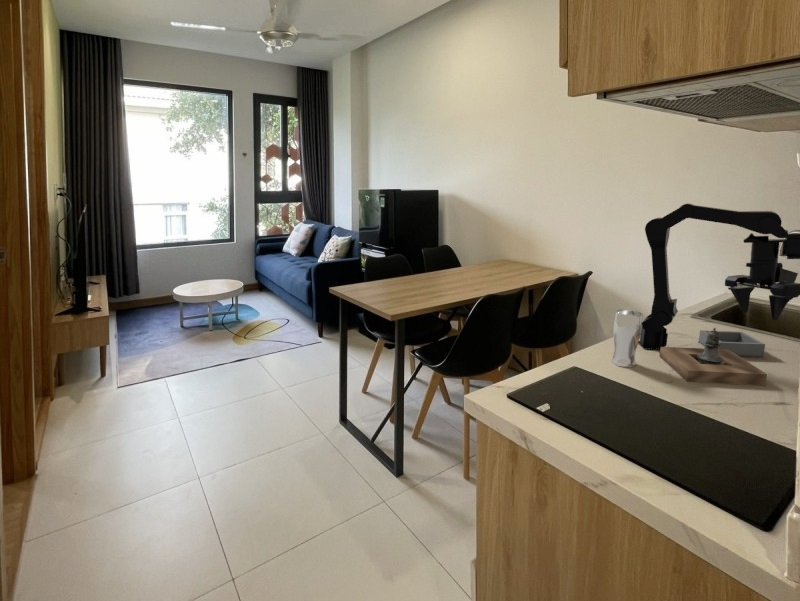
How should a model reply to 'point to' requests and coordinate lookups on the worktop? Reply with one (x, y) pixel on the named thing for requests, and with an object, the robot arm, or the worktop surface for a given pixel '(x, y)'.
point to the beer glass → (626, 336)
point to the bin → (737, 343)
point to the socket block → (712, 367)
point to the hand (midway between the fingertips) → (759, 316)
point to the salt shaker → (711, 349)
